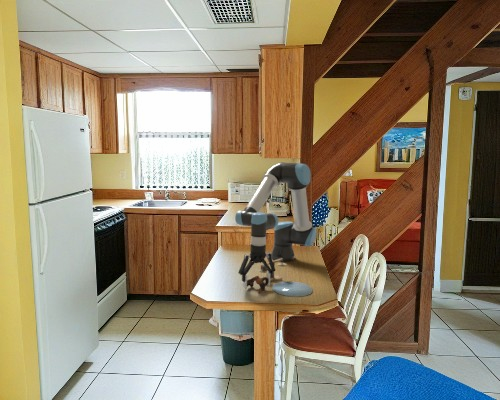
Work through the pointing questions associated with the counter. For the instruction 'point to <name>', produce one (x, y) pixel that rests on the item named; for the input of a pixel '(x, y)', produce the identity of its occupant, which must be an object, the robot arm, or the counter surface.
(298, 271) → the counter surface
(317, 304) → the counter surface
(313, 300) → the counter surface
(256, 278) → the pottery mug
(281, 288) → the plate
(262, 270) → the balance
